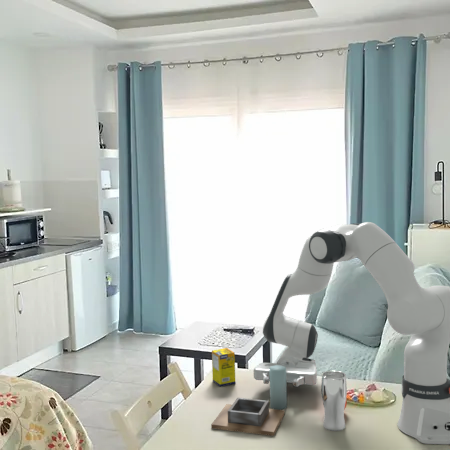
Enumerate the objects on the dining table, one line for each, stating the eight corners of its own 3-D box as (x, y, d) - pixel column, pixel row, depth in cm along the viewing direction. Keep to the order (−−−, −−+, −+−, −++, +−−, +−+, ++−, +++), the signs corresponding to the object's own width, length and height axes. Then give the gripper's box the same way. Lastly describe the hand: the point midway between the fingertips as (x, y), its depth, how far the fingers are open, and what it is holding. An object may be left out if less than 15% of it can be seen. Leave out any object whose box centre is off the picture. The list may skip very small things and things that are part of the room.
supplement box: (235, 383, 195) (235, 352, 194) (219, 387, 193) (218, 355, 192) (228, 377, 201) (227, 347, 200) (212, 381, 198) (211, 350, 197)
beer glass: (347, 432, 159) (346, 379, 157) (321, 431, 160) (320, 378, 158) (346, 421, 165) (346, 370, 164) (322, 419, 167) (321, 369, 165)
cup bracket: (284, 414, 171) (284, 399, 171) (273, 436, 158) (273, 419, 157) (226, 407, 177) (226, 393, 176) (211, 428, 164) (210, 412, 163)
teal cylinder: (288, 403, 178) (287, 366, 177) (284, 410, 174) (284, 371, 172) (272, 402, 180) (271, 364, 179) (268, 408, 175) (267, 370, 174)
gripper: (258, 355, 194) (247, 370, 181) (320, 360, 188) (312, 375, 175) (259, 373, 195) (248, 389, 182) (320, 379, 189) (313, 395, 176)
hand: (280, 382), depth 179 cm, fingers open, 8 cm apart
